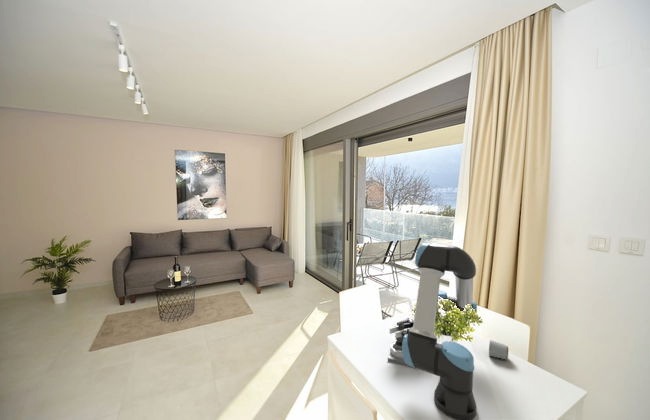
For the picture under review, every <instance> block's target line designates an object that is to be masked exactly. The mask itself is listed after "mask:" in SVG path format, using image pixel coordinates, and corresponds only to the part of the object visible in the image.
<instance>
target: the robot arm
mask: <svg viewBox="0 0 650 420" xmlns="http://www.w3.org/2000/svg"><path fill="white" fill-rule="evenodd" d="M414 263H415V266H416V267H417V270H418V272H419V274H420V275H419V282H418V290H417V297H416V304H415V309H414V310H415V312H414V318H413V319H412V320H411V319H410V318H409V317H407V318H406V319H403V320H401V321H402V323H404V330H401V331H398V325H399V323H400V322H401V321H397V322H396V325H394V326H392V327H389V334H390V335H392V334H394V337H395V339H396V338H398V337H401V336H404V337H403V343H402V354H403V360H404V362H405V363H406V364H407V365H409V366H408V367H410V366H412V367H411V368H413V369H417V370H420V371H422V372H427V373H428V374H431V375H435V376H438V377H439V380H438V382H437V386H436V387H435V389H434V392H433V401H434V404H435V405H436V407H437V408H438V409H439V411H441V412H442V413H443V414H444V415H446V416H447V417H450V418H451V419H454V420H473V419H475V417H476V415H477V403H476V399H475V396H474V393H473V385H474V383H473V382H474V369H475V364H474V363H475V362H474V361H475V360H474V356H473V354H472V352H471V351H470V350H469V349H468V348H467V347H466V346H464V345H463V344H461V343H457V342H455V341H451V340H449V341H448V340H445V341H443V342H442V343H441V344H440V343H438V337H437V336H436V334H435V329H436V328H435V319H436V311H437V302H438V296H440V297H442V298H443V299H449V300H451V301H452V302H454V303H456V306H457V308H459V309H460V311H463V310H464V308H465V305H466V304H471V306H472V308H473V309H475V310H476V311H478V303H477V302H475V301H473V300H474V299H473V298H474V278H475V276H476V275H477V267H476V264H475V261H474V259H473V258H472V257H471V256H470V254H469V253H468V252H466V251H465V250H464V249H463V248H461V247H458V246H453V245H444V244H437V243H425V242H424V243H421V244H420V245H419V247H418V248H417V250H416V254H415V260H414ZM445 272H451V273H453V276H455V277H454V278H455V297H452V296H448V293H447V292H446V291H445V290H440V283H441V278H442V277H444V276H445ZM463 307H464V308H463Z"/></svg>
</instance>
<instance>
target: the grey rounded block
mask: <svg viewBox="0 0 650 420" xmlns="http://www.w3.org/2000/svg"><path fill="white" fill-rule="evenodd" d="M488 344H489V345H488V346H489V347H488V356H489V355H490V356H489V357H492V356H493V358H496V357H497V358H496V359H499V358H501V359H500V360H503V359H505V361H507V360H508V359H509V346H508V345H506V344H504V343H500V342H497V341H495V340H492V339H490V340H489V343H488Z"/></svg>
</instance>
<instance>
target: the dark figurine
mask: <svg viewBox="0 0 650 420" xmlns="http://www.w3.org/2000/svg"><path fill="white" fill-rule="evenodd" d="M402 321H403V320H401V322H400V321H399V322H400V323H399V325H398V331H401V330H404V323H402ZM403 337H404V336H401V337H398V338H396V337H395V340H396V341H395V342H394V343H396V345H398V346H402V343H403Z"/></svg>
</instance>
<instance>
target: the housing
mask: <svg viewBox="0 0 650 420" xmlns="http://www.w3.org/2000/svg"><path fill="white" fill-rule="evenodd" d="M387 362H391V363H396V364H399V365H403V366H406V367H411V368H413V367H412V366H409V365H407V364H406V363H405V362H404V360H403V354H402V346H398V345H396V343H395V342H392V343H391V344H390V347H389V353H388V356H387Z"/></svg>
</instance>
